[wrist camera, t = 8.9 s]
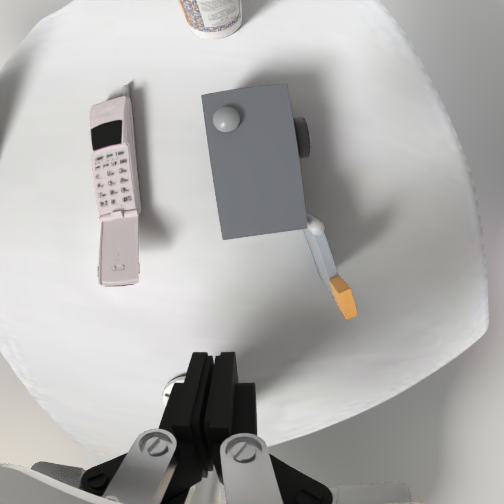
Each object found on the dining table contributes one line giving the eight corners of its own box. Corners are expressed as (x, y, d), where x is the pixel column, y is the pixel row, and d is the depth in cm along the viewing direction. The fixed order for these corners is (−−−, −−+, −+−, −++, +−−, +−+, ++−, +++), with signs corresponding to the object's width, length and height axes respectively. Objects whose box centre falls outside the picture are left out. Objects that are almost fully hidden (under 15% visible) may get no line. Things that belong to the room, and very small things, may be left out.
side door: (305, 209, 33) (331, 224, 22) (329, 275, 36) (358, 314, 25) (295, 213, 34) (316, 230, 23) (319, 279, 36) (345, 320, 25)
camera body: (308, 215, 34) (326, 227, 25) (229, 225, 34) (222, 241, 26) (292, 103, 30) (305, 80, 22) (212, 113, 30) (200, 93, 22)
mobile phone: (98, 288, 30) (75, 87, 23) (117, 272, 36) (97, 97, 29) (141, 285, 30) (117, 71, 23) (156, 268, 36) (135, 85, 29)
